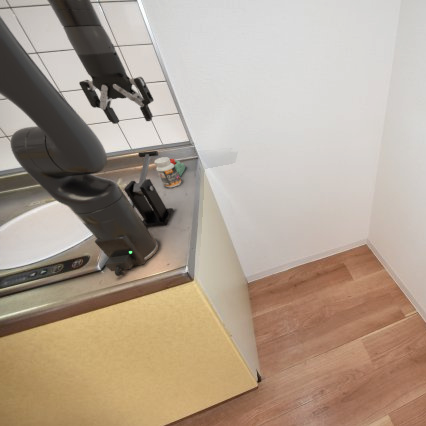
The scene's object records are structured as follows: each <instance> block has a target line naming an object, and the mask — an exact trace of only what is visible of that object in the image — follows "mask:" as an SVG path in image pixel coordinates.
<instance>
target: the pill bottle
mask: <svg viewBox="0 0 426 426" xmlns="http://www.w3.org/2000/svg"><path fill="white" fill-rule="evenodd" d="M170 159H171V158H169V157H167V156H163V157H162V156H161V157H159V158H156V159H154V165H155V166H156V172H157V174H158V175H159V178H160V180H161V181H162V183H163V185H164V186H165V187H166V188H175V187H178V186H179V185H181V183H182V179H181V176H179V175H178V172H177V170H176V168H175V166H174V164H172V163H170Z"/></svg>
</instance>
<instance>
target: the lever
mask: <svg viewBox="0 0 426 426" xmlns="http://www.w3.org/2000/svg"><path fill="white" fill-rule="evenodd" d="M137 154H138V157H139V158H144V160H143V163H142V166H141V171H140V176H139V180H138V182H136V183H135V184H134V188H133V192H134V193H135V194H136V195H137V196H144V194H143V193H142V191H141V189H140V187H141V185H142V184H143V183H144V182H145V180H146V179H147V175H148V172H149V166H150V162H151V159H152V157H157V156H159V151H158V150H150V151H141V152H138V153H137Z"/></svg>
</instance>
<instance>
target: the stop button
mask: <svg viewBox="0 0 426 426" xmlns="http://www.w3.org/2000/svg"><path fill="white" fill-rule="evenodd" d="M169 159H170V163H172V164H174V165H175V164H176V162H175V159H174V158H169Z"/></svg>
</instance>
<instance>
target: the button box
mask: <svg viewBox="0 0 426 426" xmlns="http://www.w3.org/2000/svg"><path fill="white" fill-rule="evenodd" d="M174 160H175V159H174ZM175 162H176V164H175V165H174V166H175V168H176V170H177V172H178V175H179V177H182V175H183V174H184V172H185V170H186V166H185V163H184V162H183V163H181V161H180V160H177V159H176V160H175Z"/></svg>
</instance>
